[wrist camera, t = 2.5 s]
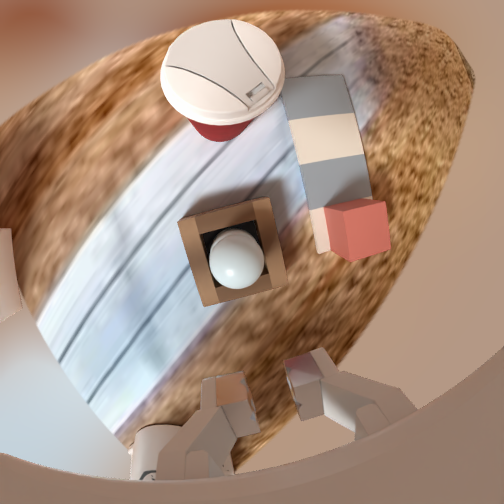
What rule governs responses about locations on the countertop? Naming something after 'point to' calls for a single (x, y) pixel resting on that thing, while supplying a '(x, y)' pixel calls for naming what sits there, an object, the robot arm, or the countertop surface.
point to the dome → (236, 258)
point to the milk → (8, 277)
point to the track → (325, 146)
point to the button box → (227, 217)
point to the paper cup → (222, 76)
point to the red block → (358, 228)
